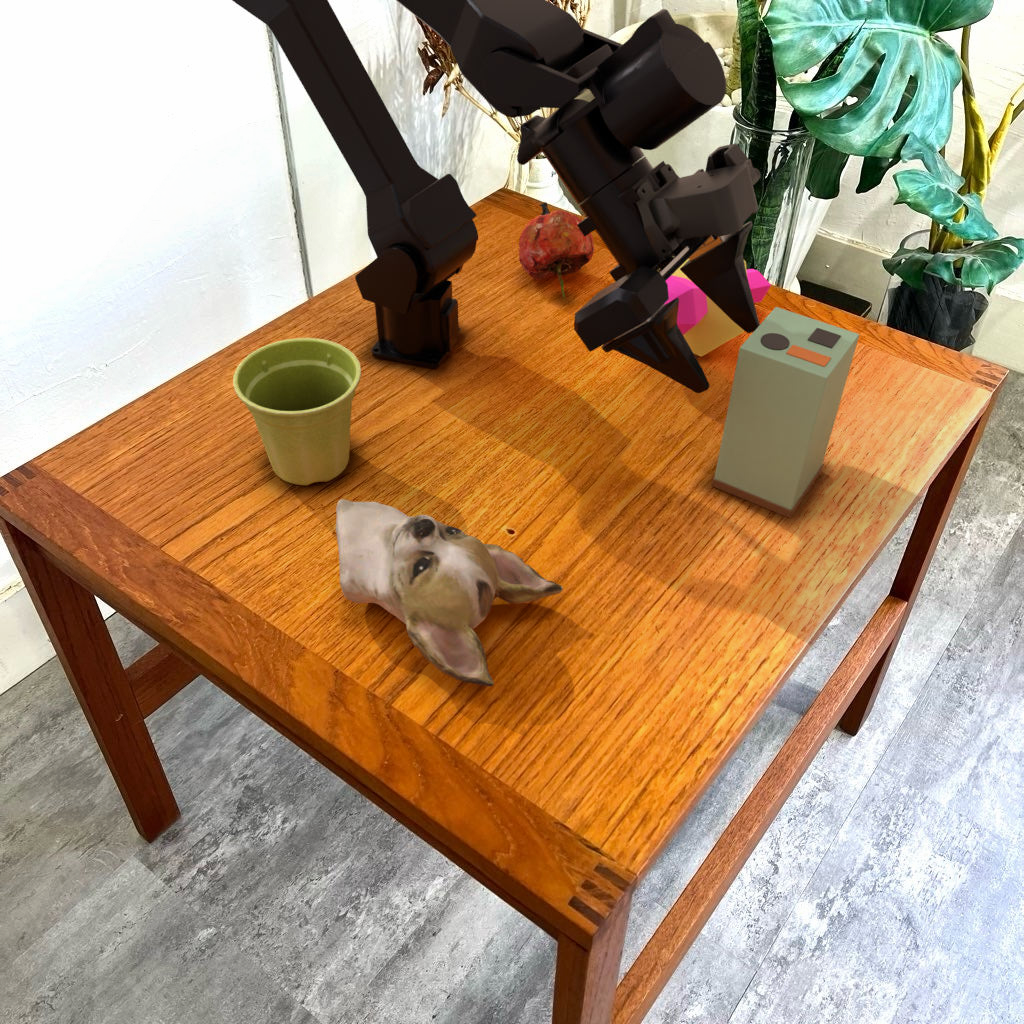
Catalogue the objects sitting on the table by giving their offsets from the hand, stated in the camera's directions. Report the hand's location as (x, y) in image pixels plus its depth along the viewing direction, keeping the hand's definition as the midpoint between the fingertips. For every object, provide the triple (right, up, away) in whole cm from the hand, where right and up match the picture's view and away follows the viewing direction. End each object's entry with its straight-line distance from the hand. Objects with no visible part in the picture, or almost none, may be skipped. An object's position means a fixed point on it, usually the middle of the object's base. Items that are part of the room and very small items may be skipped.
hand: (730, 359), depth 77 cm
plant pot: (-32, -7, +6) cm, 34 cm away
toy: (+1, +5, +19) cm, 20 cm away
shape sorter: (+4, -9, +5) cm, 11 cm away
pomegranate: (-12, +12, +27) cm, 31 cm away
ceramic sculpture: (-21, -19, -6) cm, 29 cm away
